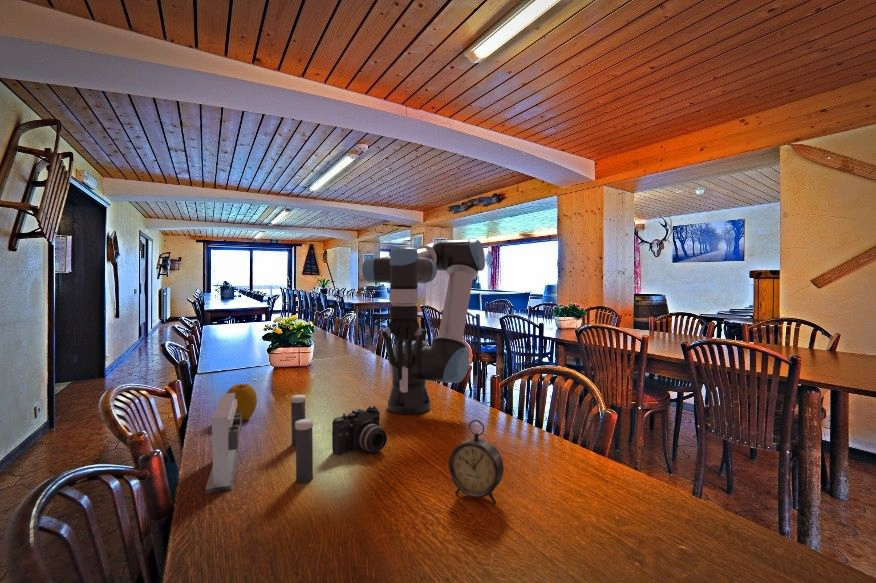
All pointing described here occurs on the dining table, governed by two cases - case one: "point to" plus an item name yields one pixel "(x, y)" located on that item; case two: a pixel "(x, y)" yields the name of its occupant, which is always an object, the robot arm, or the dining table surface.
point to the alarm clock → (476, 467)
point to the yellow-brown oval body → (244, 400)
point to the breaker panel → (224, 444)
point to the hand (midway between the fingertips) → (403, 391)
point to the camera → (358, 432)
